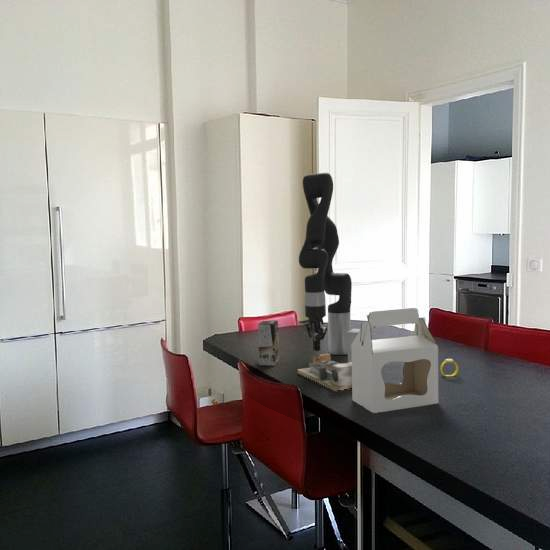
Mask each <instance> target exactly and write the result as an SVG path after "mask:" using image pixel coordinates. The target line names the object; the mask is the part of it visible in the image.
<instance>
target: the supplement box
mask: <svg viewBox="0 0 550 550" xmlns="http://www.w3.org/2000/svg"><path fill="white" fill-rule="evenodd" d="M360 329H361V328H352V329H351V330H350V331H348V332H347V344H348V354H347V363H349V362H352V349H351V345H352V343H353V341H354V339H355V338H356V336H357V334H358V332H359V331H360Z"/></svg>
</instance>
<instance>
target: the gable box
mask: <svg viewBox="0 0 550 550" xmlns="http://www.w3.org/2000/svg"><path fill="white" fill-rule="evenodd" d="M366 318H367V321H365V322H362V323H360V328H359V329H360V331H359V332H358V334H357V336H356V338H355V339H354V341H353V343H352V345H351V349H352V389H351V393H352V394H351V397H352V401H353V402H354V403H356V404H357V405H359V406H361V407H362V406H363V407H362V408H364V409H366V410H367V411H369V412H371V413H372V414H378V413H379V412H380V413H385V412H391V411H397V410H405V409H410V408H412V409H413V408H417V407H424V406H431V405H438V404H439V344H438V343H437V342H436V339H435V337H434V336H433V334H432V333H431V330H430V329H429V327H428V325H427V324H426V323H427V322H426V317H420V316H419V310H418V308H416V307H411V308H409V307H407V308H397V309H390V310H389V309H388V310H387V309H386V310H377V311H370V312H369V314H367V315H366ZM406 324H407V325H408V324H412V325H413V324H414V332H413V335H409V336H400V337H389V338H379V339H373V337H372V329H373V328H377V327H388V326H389V327H390V326H397V325H406ZM394 362H401V363H402V362H404V363H403V364H404V365H403V368H402V375H403V379H402V382H400V383H391V382H384V381H385V380H384V379H383V376H382V375H383V374H382V368H383V367H384V366H385V365H386V364H389V363H394Z"/></svg>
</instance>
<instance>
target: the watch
mask: <svg viewBox="0 0 550 550" xmlns="http://www.w3.org/2000/svg"><path fill="white" fill-rule="evenodd" d="M447 363H448V364H449V363H453V364H454V365H455V371H454V373H452V374H445V373H444V371H443V369H444V368H443V367H444V366H445V364H447ZM439 370H440V373H441V375H442V376H444V377H445V378H449V377H451V378H453V377H456V375H457V374H458V372H459V365H458V364H457V362H456V361H454V359H453V358H446V359H444V361H443V362H441V364H440V369H439Z"/></svg>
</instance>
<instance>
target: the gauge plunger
mask: <svg viewBox="0 0 550 550" xmlns="http://www.w3.org/2000/svg"><path fill="white" fill-rule="evenodd" d="M331 355H332V354H330V353H329V352H328V353H323V354H313V355H312V362H309V363H308V366H309V367H310V366H314V365H317V366H319V367H326V370H328V371H332V365H336V362H337V361H335V360H332V358H331ZM334 361H335V362H334Z"/></svg>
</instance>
